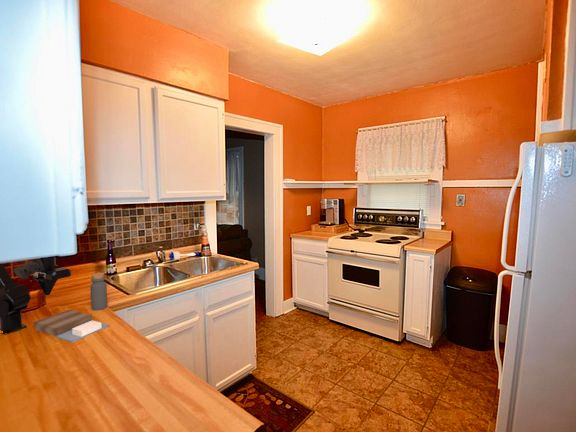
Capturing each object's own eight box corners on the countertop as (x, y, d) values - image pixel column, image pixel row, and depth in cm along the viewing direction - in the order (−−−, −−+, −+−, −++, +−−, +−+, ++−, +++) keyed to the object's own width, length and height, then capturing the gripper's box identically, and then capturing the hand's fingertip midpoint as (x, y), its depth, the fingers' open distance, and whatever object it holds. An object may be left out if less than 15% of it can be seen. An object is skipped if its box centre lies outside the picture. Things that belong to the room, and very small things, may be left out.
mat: (56, 337, 101) (56, 335, 101) (94, 322, 113) (93, 320, 113) (72, 342, 98) (72, 340, 98) (109, 326, 110) (109, 324, 110)
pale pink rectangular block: (81, 331, 100) (82, 336, 101) (101, 322, 107) (101, 328, 107) (72, 328, 102) (72, 334, 102) (92, 320, 109) (92, 325, 109)
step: (34, 329, 107) (34, 321, 106) (69, 316, 118) (69, 309, 117) (58, 336, 102) (57, 328, 101) (92, 322, 113) (92, 315, 112)
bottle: (110, 305, 129) (109, 272, 128) (98, 311, 124) (97, 276, 122) (100, 304, 131) (98, 271, 130) (88, 309, 125) (86, 275, 124)
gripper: (0, 254, 100) (4, 298, 102) (33, 259, 93) (37, 307, 95) (38, 248, 111) (41, 289, 112) (71, 252, 104) (73, 295, 105)
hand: (47, 295), depth 106 cm, fingers closed
